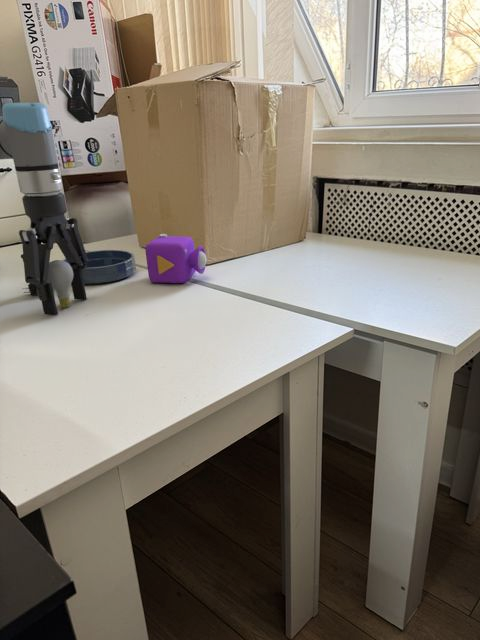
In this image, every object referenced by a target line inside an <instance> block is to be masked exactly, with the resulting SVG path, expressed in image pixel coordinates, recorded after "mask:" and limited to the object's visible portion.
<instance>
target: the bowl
mask: <svg viewBox="0 0 480 640" xmlns="http://www.w3.org/2000/svg"><path fill="white" fill-rule="evenodd" d="M85 252H86V255H87V258H88V263H85V264H86V265H87V267H86V269H82V270H83V276H84V285H100V284H107V283H112V282H118V281H120V280H123V279H125V278H127V277H129V276H132V275H134V274H135V272H136V271H137V267H136V260H135V258H136V257H135V254H134V253H133V252H131V251H127V250H121V249H101V250H92V251H91V250H90V251H85ZM80 257H81V256H80ZM61 260H62V261H65V262H67V263H68V261H67V260H66V258H65V257H64V258H63V259H61ZM68 264H69V263H68ZM72 269H73V268H72Z"/></svg>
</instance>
